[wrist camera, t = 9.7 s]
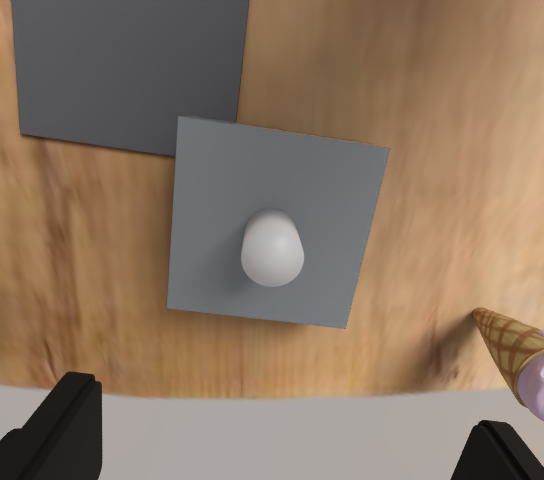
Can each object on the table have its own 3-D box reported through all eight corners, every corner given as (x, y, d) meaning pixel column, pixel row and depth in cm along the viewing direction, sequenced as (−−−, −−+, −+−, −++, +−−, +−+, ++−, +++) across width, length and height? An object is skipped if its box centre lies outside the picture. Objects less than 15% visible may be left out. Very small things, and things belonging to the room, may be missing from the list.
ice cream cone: (453, 282, 36) (578, 388, 21) (516, 278, 36) (682, 382, 21) (447, 340, 38) (557, 471, 24) (506, 336, 38) (652, 466, 23)
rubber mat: (258, -82, 26) (258, -85, 26) (231, 164, 32) (230, 164, 31) (6, -129, 25) (2, -133, 25) (23, 133, 31) (20, 133, 30)
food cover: (366, 142, 31) (418, 155, 21) (332, 295, 36) (360, 367, 26) (194, 116, 30) (158, 116, 20) (182, 277, 35) (148, 345, 24)
